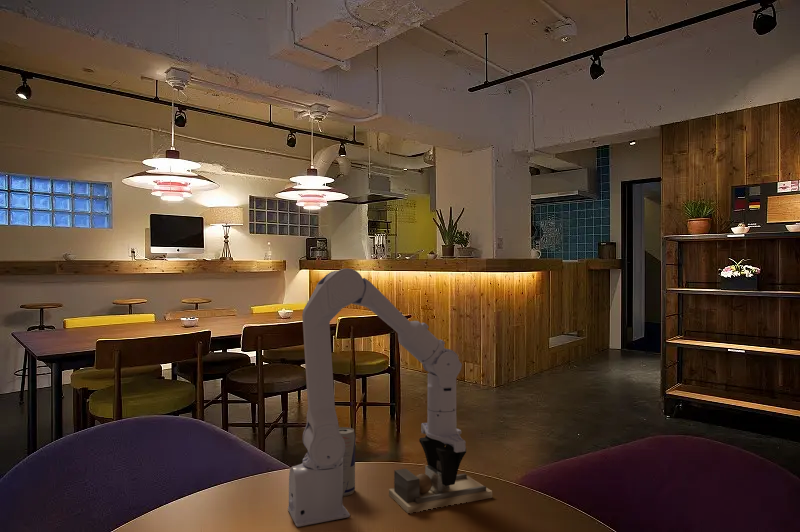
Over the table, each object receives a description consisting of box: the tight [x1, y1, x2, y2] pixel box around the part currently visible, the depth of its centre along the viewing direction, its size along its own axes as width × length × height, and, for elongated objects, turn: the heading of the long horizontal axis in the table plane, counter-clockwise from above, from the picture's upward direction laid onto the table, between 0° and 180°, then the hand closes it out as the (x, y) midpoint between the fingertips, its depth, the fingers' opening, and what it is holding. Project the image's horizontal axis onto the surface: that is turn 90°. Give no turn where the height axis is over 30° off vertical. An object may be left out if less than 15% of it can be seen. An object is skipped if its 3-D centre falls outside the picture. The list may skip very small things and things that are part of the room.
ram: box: [424, 458, 450, 494], centre depth 96 cm, size 4×5×5 cm
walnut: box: [415, 473, 432, 494], centre depth 94 cm, size 4×4×4 cm
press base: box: [388, 468, 493, 514], centre depth 96 cm, size 18×9×5 cm, turn 114°
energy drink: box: [339, 426, 356, 497], centre depth 98 cm, size 5×5×12 cm
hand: (442, 479), depth 96 cm, fingers closed on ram, 5 cm apart
